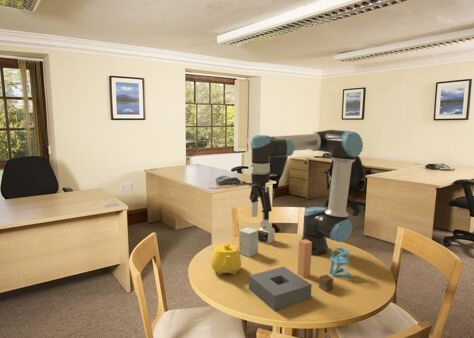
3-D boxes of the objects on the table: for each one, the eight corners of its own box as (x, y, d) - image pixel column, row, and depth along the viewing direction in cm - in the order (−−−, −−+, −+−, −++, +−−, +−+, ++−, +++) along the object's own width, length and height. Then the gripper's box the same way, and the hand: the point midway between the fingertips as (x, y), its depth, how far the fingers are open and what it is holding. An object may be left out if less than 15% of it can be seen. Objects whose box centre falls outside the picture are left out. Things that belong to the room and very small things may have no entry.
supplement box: (258, 253, 180) (259, 230, 178) (249, 257, 174) (249, 233, 172) (247, 249, 185) (248, 226, 183) (238, 253, 179) (238, 230, 177)
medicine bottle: (257, 241, 196) (257, 220, 194) (264, 237, 202) (265, 218, 200) (267, 244, 192) (268, 223, 190) (274, 240, 197) (275, 220, 195)
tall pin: (304, 271, 160) (306, 239, 157) (310, 275, 156) (312, 242, 154) (297, 273, 158) (299, 240, 155) (303, 277, 154) (305, 243, 152)
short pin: (325, 285, 148) (326, 274, 147) (332, 289, 144) (333, 278, 144) (318, 287, 146) (319, 276, 145) (325, 291, 142) (326, 280, 142)
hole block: (283, 279, 153) (283, 266, 152) (310, 298, 137) (311, 284, 136) (248, 288, 144) (249, 275, 143) (274, 310, 128) (274, 295, 127)
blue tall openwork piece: (326, 270, 161) (328, 246, 159) (342, 269, 163) (344, 245, 161) (334, 278, 154) (336, 253, 152) (351, 276, 156) (353, 252, 154)
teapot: (238, 262, 169) (239, 237, 167) (243, 282, 149) (244, 254, 147) (210, 262, 168) (210, 238, 166) (212, 283, 148) (212, 255, 146)
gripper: (242, 168, 154) (242, 213, 158) (262, 179, 130) (261, 232, 134) (258, 167, 156) (257, 212, 160) (280, 177, 133) (279, 230, 136)
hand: (259, 221), depth 147 cm, fingers open, 13 cm apart
